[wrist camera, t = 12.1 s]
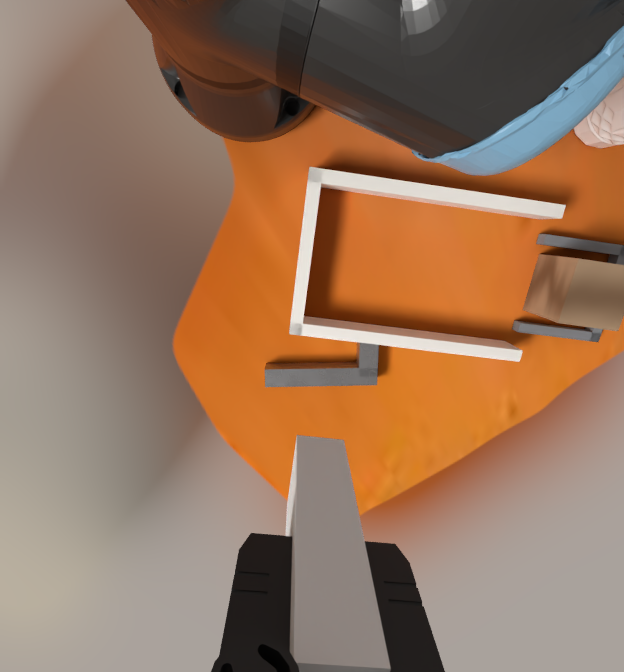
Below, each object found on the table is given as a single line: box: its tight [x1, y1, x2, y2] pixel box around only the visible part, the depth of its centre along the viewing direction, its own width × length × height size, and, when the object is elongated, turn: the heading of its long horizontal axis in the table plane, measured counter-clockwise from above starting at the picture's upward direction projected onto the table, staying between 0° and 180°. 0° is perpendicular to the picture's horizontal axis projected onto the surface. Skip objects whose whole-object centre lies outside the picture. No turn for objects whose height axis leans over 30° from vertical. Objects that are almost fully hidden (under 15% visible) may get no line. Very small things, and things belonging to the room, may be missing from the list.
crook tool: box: [265, 342, 379, 387], centre depth 42 cm, size 5×12×2 cm, turn 90°
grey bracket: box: [512, 234, 624, 342], centre depth 41 cm, size 10×9×1 cm
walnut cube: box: [523, 254, 624, 331], centre depth 38 cm, size 6×6×6 cm
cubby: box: [289, 167, 566, 362], centre depth 38 cm, size 15×24×4 cm, turn 82°
